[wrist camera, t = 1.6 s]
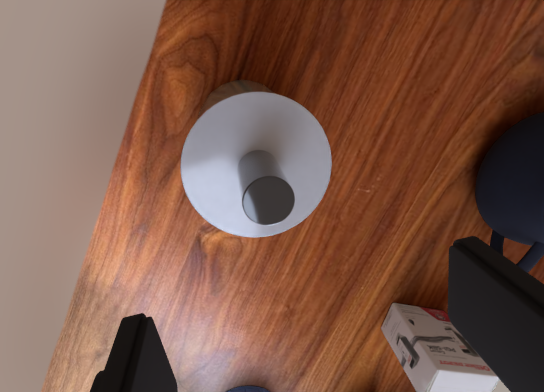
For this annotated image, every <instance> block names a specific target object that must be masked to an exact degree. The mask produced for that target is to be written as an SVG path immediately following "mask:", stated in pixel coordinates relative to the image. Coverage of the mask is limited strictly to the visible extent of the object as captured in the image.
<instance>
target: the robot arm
mask: <svg viewBox="0 0 544 392" xmlns="http://www.w3.org/2000/svg"><path fill="white" fill-rule="evenodd" d="M448 317H449V320H450V322H451V324H452V325H453V326H454V327H455V328H456V330H457V331H458V332H459V333H460V334H461V335H462V336H463V338H464V339H465V340H466V341H467V342H468V343H469V345H470V346H471V347H472V348H473V349H474V350H475V351H476V353H477V354H478V355H479V356H480V357H481V358H482V359H483V361H484V362H485V363H486V364H487V365H488V366H489V367H490V369H491V370H492V371H493V372H494V373H495V374H496V375H497V377H498V378H499V379H500V380H501V381H502V382H503V383H504V385H505V386H506V387H507V388H508V389H509V390H510V391H511V392H544V284H543V283H541V282H540V281H538V280H537V279H536V278H534V277H533V276H531V275H530V274H528V273H527V272H526V271H524V270H523V269H521V268H520V267H519V266H517V265H516V264H514V263H513V262H511V261H510V260H509V259H507V258H506V257H504V256H503V255H501V254H500V253H499V252H497V251H496V250H494V249H493V248H492V247H490V246H489V245H487V244H486V243H484V242H483V241H482V240H480V239H479V238H477V237H475V236H471V237H467V238H462V239H458V240H455V241H454V243H453V246H451V247H450V248H449V277H448ZM90 392H178V390H177V382H176V379H175V377H174V374H173V371H172V369H171V366H170V363H169V361H168V358H167V355H166V353H165V350H164V347H163V345H162V342H161V339H160V337H159V334H158V331H157V329H156V326H155V324H154V321H153V319H152V317H146V316H145V315H144V314H143V313H141V314H137V315H133V316H128V317H124V318H123V319H122V321H121V323H120V326H119V329H118V332H117V335H116V338H115V341H114V344H113V346H112V349H111V352H110V355H109V358H108V361H107V364H106V367H105V370H103V371H100V372H99V373H98V374H97V375H96V377H95V379H94V382H93V384H92V387H91V390H90Z"/></svg>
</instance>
